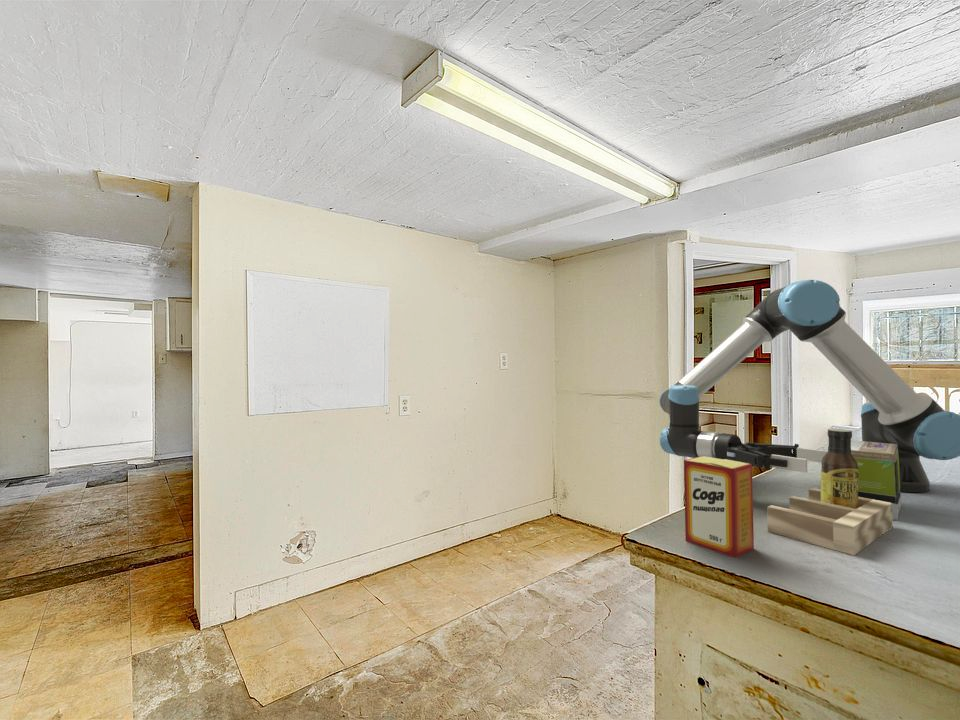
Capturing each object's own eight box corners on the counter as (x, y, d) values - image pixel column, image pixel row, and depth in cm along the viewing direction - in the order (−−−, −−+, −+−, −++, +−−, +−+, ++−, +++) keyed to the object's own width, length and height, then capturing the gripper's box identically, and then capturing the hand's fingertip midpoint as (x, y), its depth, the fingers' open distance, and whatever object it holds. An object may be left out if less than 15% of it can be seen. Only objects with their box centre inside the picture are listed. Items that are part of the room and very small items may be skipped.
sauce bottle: (834, 528, 92) (832, 431, 92) (814, 518, 98) (811, 427, 98) (867, 529, 91) (865, 431, 92) (844, 518, 97) (842, 427, 98)
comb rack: (812, 509, 104) (812, 488, 104) (892, 527, 92) (892, 502, 92) (767, 531, 91) (767, 506, 91) (854, 555, 79) (853, 526, 79)
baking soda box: (685, 540, 87) (683, 458, 87) (703, 533, 90) (702, 454, 91) (736, 557, 79) (734, 466, 79) (753, 548, 82) (751, 462, 83)
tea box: (847, 497, 113) (846, 438, 113) (901, 505, 106) (900, 443, 106) (838, 511, 102) (837, 446, 103) (898, 521, 95) (896, 452, 96)
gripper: (743, 456, 122) (839, 470, 104) (694, 469, 107) (795, 488, 90) (743, 428, 122) (839, 438, 104) (693, 438, 107) (794, 451, 90)
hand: (819, 461), depth 97 cm, fingers open, 13 cm apart
